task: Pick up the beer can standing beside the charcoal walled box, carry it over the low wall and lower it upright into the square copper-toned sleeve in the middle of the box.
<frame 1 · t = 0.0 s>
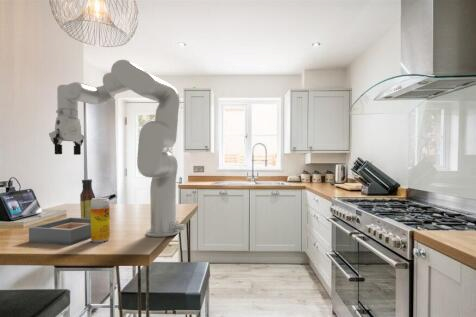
hand: (68, 154, 122), 31 cm above the table, tool pointing down, fingers open, 9 cm apart
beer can: (100, 241, 102), on the table
sauce bottle: (88, 222, 132), on the table
walled box: (70, 236, 107), on the table
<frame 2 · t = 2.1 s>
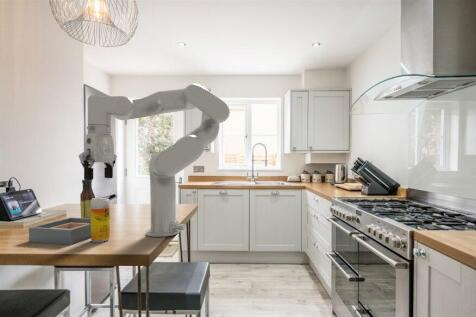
hand: (99, 178, 102), 22 cm above the table, tool pointing down, fingers open, 9 cm apart
nothing on the table moved.
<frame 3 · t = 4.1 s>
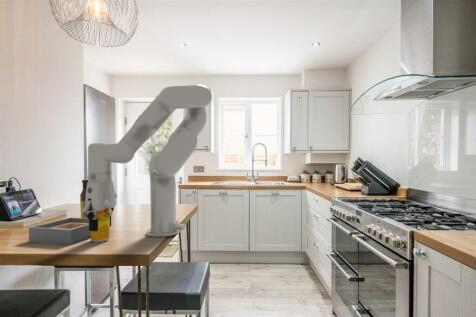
hand: (100, 228, 102), 4 cm above the table, tool pointing down, fingers closed on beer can, 5 cm apart
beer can: (100, 241, 102), on the table, touching gripper
everything else where it was.
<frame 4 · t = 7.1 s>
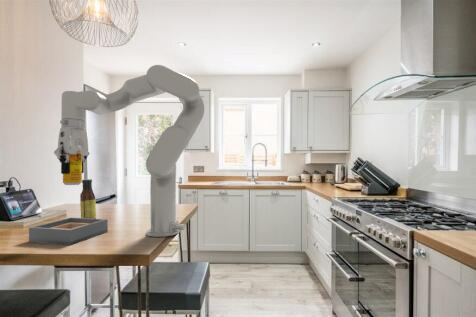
hand: (72, 172, 107), 24 cm above the table, tool pointing down, fingers closed on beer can, 5 cm apart
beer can: (72, 185, 107), point 19 cm above the table, touching gripper
everything else where it was.
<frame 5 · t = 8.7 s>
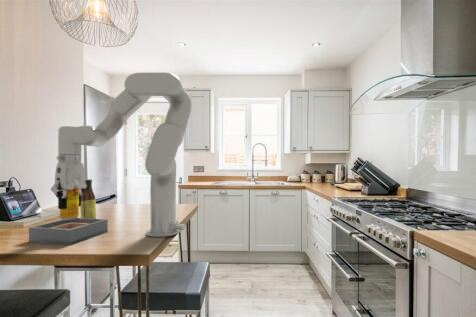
hand: (69, 206, 107), 11 cm above the table, tool pointing down, fingers closed on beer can, 5 cm apart
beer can: (69, 219, 107), point 7 cm above the table, touching gripper
everything else where it was.
when the fingers open (6 cm above the table, at t = 10.1 s): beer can drops 1 cm, resting on walled box.
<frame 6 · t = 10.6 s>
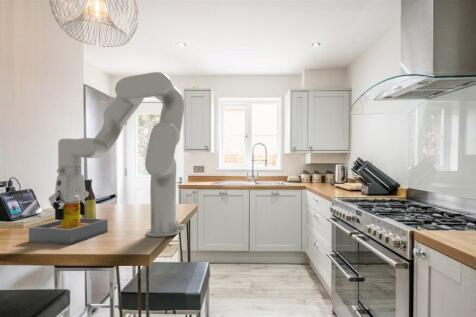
hand: (70, 217, 107), 7 cm above the table, tool pointing down, fingers open, 9 cm apart
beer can: (71, 234, 107), point 1 cm above the table, touching walled box
everything else where it was.
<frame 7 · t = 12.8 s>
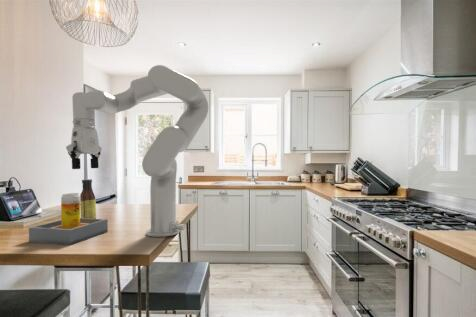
hand: (85, 168, 112), 25 cm above the table, tool pointing down, fingers open, 9 cm apart
nothing on the table moved.
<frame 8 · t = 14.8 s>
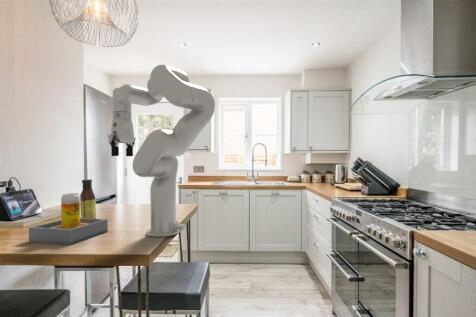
hand: (122, 156, 125), 30 cm above the table, tool pointing down, fingers open, 9 cm apart
nothing on the table moved.
at the end: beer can 0.2 cm off-centre on the walled box, point 0.8 cm above the walled box's base; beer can tilted 0°; the gripper is holding nothing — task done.
